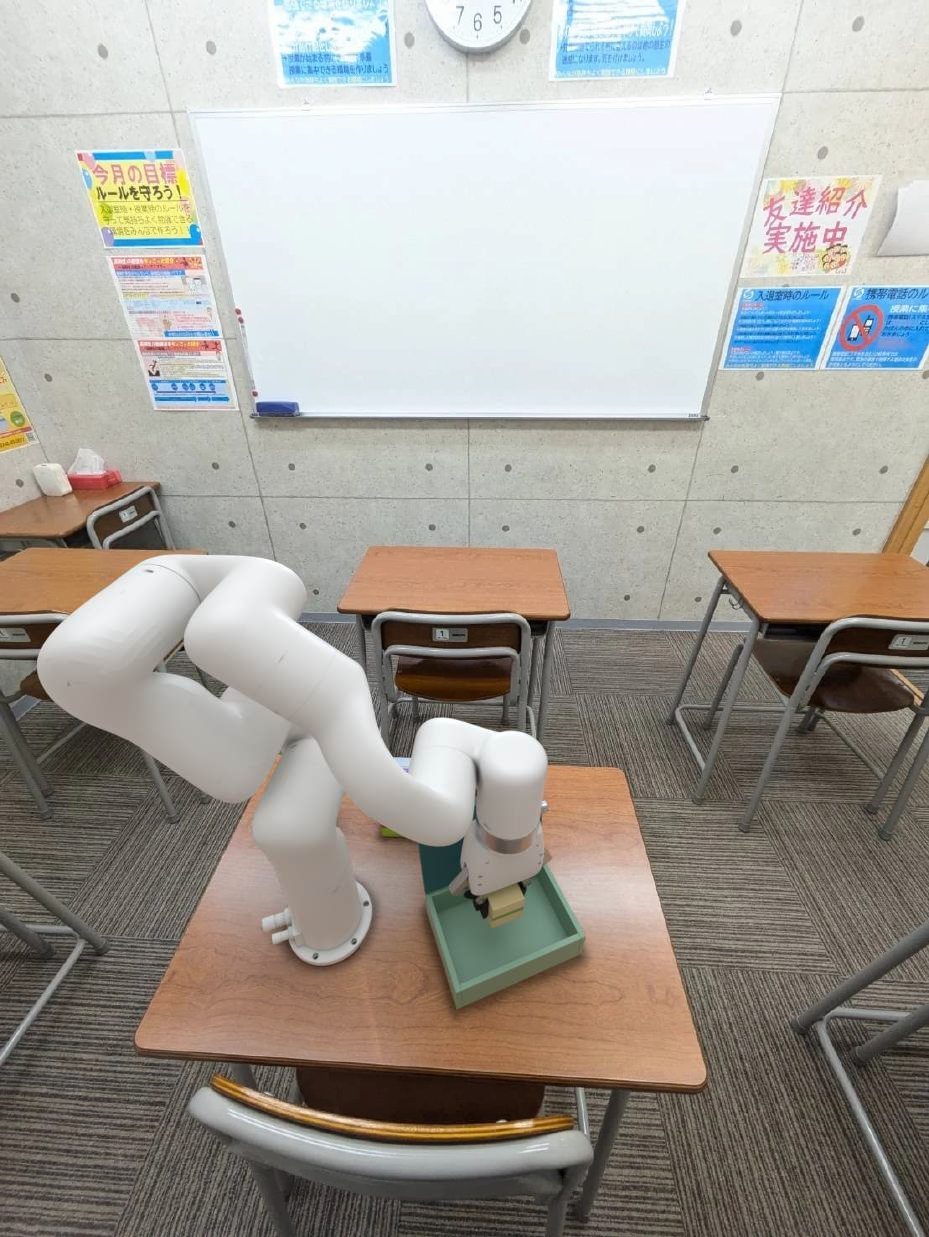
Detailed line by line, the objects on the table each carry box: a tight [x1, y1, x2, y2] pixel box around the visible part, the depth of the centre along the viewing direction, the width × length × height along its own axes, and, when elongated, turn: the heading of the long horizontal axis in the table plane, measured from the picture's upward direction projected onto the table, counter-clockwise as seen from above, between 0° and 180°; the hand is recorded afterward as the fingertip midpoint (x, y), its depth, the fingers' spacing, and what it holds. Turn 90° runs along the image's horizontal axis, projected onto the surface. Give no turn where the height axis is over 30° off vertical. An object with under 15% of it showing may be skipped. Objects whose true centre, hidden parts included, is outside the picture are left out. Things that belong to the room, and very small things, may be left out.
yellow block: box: [487, 883, 525, 928], centre depth 71 cm, size 5×6×5 cm
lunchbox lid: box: [417, 789, 543, 895], centre depth 78 cm, size 14×19×6 cm
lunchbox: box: [424, 863, 587, 1010], centre depth 75 cm, size 14×19×6 cm
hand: (498, 900), depth 72 cm, fingers closed on yellow block, 4 cm apart
